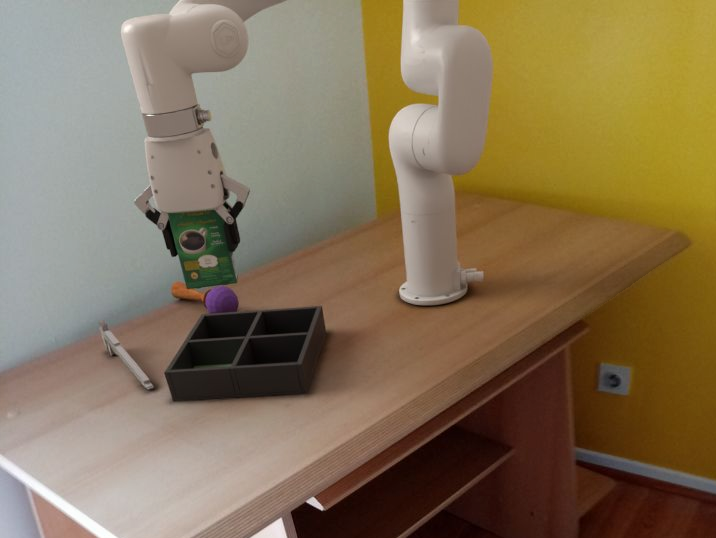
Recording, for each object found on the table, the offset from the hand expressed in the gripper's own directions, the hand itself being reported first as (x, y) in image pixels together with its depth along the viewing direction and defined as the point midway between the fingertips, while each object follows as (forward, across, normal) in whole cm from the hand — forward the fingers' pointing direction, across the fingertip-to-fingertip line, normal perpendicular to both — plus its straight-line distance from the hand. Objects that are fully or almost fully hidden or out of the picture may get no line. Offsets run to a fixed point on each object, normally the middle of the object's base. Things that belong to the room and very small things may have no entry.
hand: (205, 250), depth 113 cm
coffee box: (+5, 0, 0) cm, 5 cm away
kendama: (+20, +12, -26) cm, 35 cm away
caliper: (+20, +19, -2) cm, 28 cm away
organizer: (+20, -3, -2) cm, 20 cm away
